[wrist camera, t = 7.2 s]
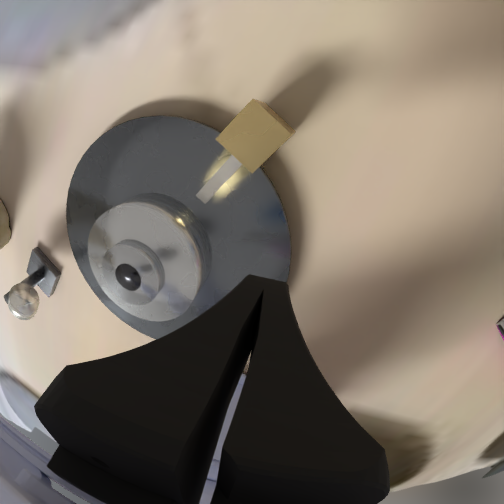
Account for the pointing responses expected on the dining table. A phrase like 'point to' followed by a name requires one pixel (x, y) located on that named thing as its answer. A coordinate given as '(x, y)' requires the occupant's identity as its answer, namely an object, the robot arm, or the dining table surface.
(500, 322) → the candy bar box
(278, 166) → the dining table surface
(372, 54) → the dining table surface
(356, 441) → the robot arm
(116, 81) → the dining table surface
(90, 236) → the cover
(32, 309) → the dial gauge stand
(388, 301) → the dining table surface
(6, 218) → the flower pot
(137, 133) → the turntable
